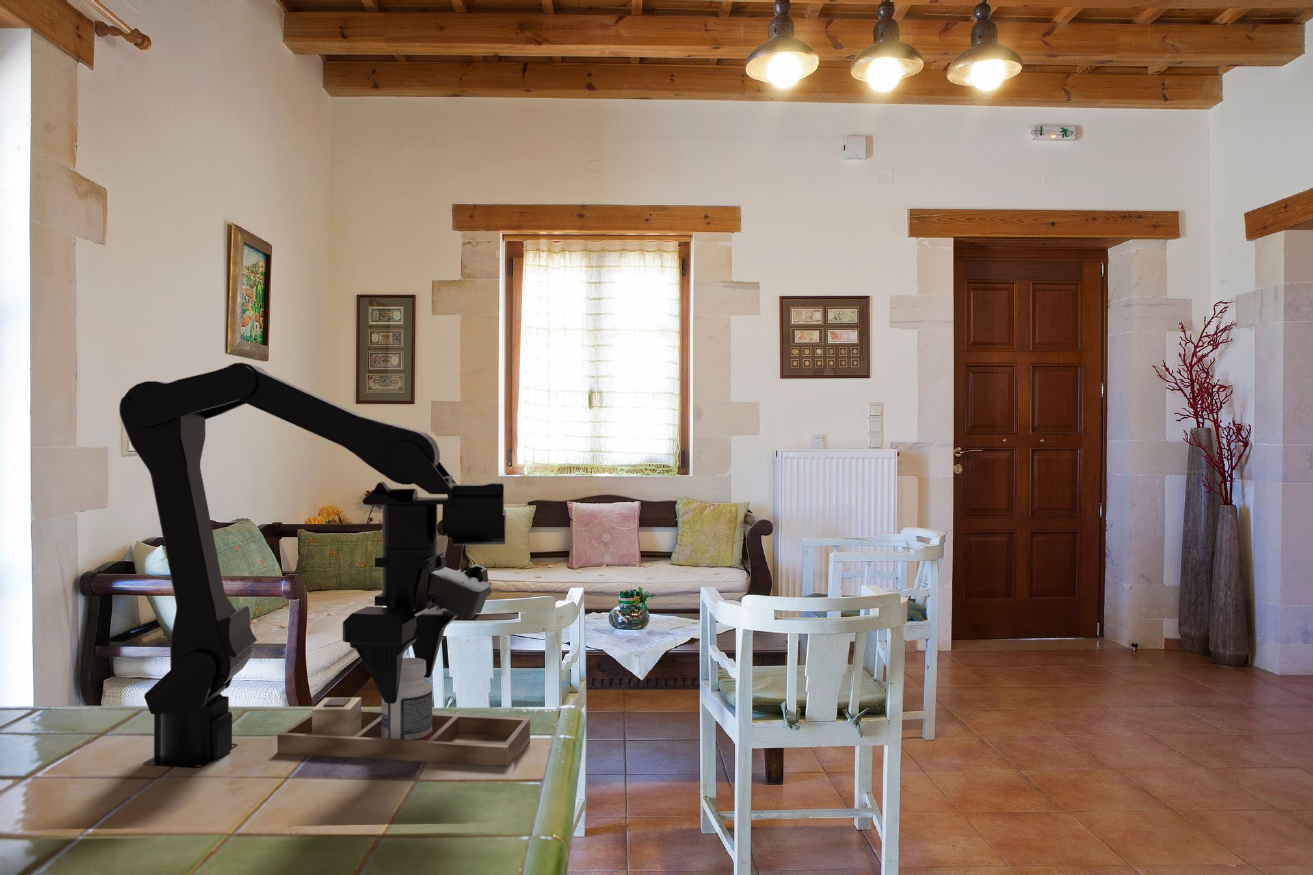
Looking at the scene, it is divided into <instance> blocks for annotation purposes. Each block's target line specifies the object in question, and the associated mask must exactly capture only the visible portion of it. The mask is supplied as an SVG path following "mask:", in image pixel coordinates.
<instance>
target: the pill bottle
mask: <svg viewBox="0 0 1313 875" xmlns="http://www.w3.org/2000/svg"><path fill="white" fill-rule="evenodd" d="M425 674H426V661H425V660H424V659H421V658H415V657H403V660H402V668H401V675H400V683H399V690H398V696H397V701H396V702H395V703H394V704H389V703H385V702H384V700H383V698H382V697H381V711H382V738H387V739H404V740H422V741H428V740H429V739H430V738H431V737H432V713H433V685H432V682H431V681H430V680H429V679H428V678H424V675H425Z"/></svg>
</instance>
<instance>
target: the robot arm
mask: <svg viewBox="0 0 1313 875" xmlns="http://www.w3.org/2000/svg"><path fill="white" fill-rule="evenodd" d="M244 405H249V406H251V407H253V408H256V409H258V410H260V411H262V412H265V413H268V414H269V415H271V416H274V417H276V418H278V419H280V420H283V421H285V422H287V423H290V424H292V425H294V426H296V427H299V428H300V429H304V430H306V431H308V432H310V433H312V434H314V435H316V436H319V437H321V438H323V439H325V440H328V441H330V442H333V443H335V444H337V445H339V446H341V447H343V448H345V449H347V450H348V451H350V452H351V453H353V455H355V456H357V457H358V458H359V459H360V460H361V461H363V462H364V463H365V464H367V465H368V466H369V467H371V468H372V469H373V470H376V471H377V472H378V473H380V474H381V475H383V477H385V478H387V479H389V480H391V481H392V482H394V483H395V484H399V485H403V486H404V485H405V486H406V485H409V486H410V485H416V486H417V487H418V488H420V489H421V490H423V491H425V492H427V493H428V494H430V495H447V497H422V496H420V497H419V492H418V490H417V488H390V487H389V486H388V485H387V484H386V483H385V481H381V482H380V481H379V482H377V484H375V487H374V488H373V490H372V491H371V492H370V493H369V494H368V495H367V496H365V497H364V498H363V499H362V504H363V505H365V506H382V531H381V532H382V543H381V544H382V545H381V546H382V549H381V550H382V552H381V553H382V555H379V556H376V557H374V568H381V570H382V571H381V572H382V573H381V579H382V580H381V586H382V588H381V589H382V590H381V593H380V594H379V593H378V594H377V595H375V596H374V606H365V607H363V608H360V609H358V610H357V611H354V612H351V613H350V614H349V615H348V616H347V617H346V618H345V619H344V620H343V622H342V642H344V643H346V644H347V643H349V647H350V648H351V649H355V651H356V652H357V654H358V656H359V657H360V659H361V660H362V662H363V664H364V665H365V667H366V670H368V672H369V675H370V676H371V678H372V680H373V682H374V684H375V686H376V688H377V690H378V691H379V694H380V695H381V699H382V698H383V700H384V702H385V703H389V704H394V703H395V702H396V701H397V696H398V690H399V683H400V675H401V668H402V660H403V658H404V654H405V652H406V651H407V650H408V649H409V648H410V647H411V648H412V651H413V654H414V658H421V659H424V660H425V661H426V674H425V675H424V678H426V679H428V678H431V677H432V676H433V671H434V668H435V664H436V661H437V657H438V653H439V651H440V646H441V643H442V640H443V635H444V633H445V631H446V630H445V629H446V628H447V626H449V625H450V624H451V623H452V622H453V621H454V620H455V619H456V618H457V617H459V618H462V619H466V620H471V619H473V618H474V617H475V616H476V615H477V614H481V613H482V611H483V609H484V605H485V602H486V600H487V597H488V596H490V595H491V594H492V589H491V585H492V582H491V581H489V573H488V568H486V567H484V566H482V565H480V564H476V563H475V564H474V565H471V566H470V567H468V569H467V570H465V571H464V572H463V570H461V569H457V570H455V569H452V568H449V567H447V556H446V555H445V554H444V552H440V551H439V552H438V505H439V506H441V505H442V509H441V510H442V512H441V513H442V516H441V520H442V521H441V528H442V535H443V537H447V539H452V545H453V546H489V545H491V546H492V545H493V546H494V545H498V546H499V545H506V538H507V537H506V535H507V534H506V533H507V532H506V531H507V530H506V528H507V510H506V509H505V484H504V483H503V482H489V483H485V484H457V483H456V481H455V480H454V478H453V475H450V473H449V472H448V471H447V469H446V467H444V465H443V464H442V463H441V461H440V460H441V457H440V456H441V454H440V453H441V452H440V448H439V446H438V443H437V442H436V440H435V439H434V438H433V437H432V436H431V435H429V434H428V433H426V432H424V431H421V430H417V429H414V428H410V427H406V426H404V425H403V426H402V425H398V424H394V423H390V422H386V421H382V420H378V419H375V418H369V417H367V416H363V415H361V414H359V413H357V412H354V411H352V410H351V409H347V408H346V407H343V406H341V405H339V404H336V403H335V402H332V401H330V400H329V399H325V398H324V397H321V396H319V395H317V394H314V393H312V392H310V391H308V390H305V389H304V388H302V387H300V386H299V387H298V386H297V385H295V384H293V383H290V382H288V381H285V380H284V379H281V378H279V377H277V376H275V375H272V374H270V373H268V372H267V371H266V370H265V369H263V368H262V367H260V366H257V365H253V364H249V363H245V362H234V363H232V364H229V365H227V366H225V367H223V368H222V367H221V368H219V369H216V370H212V371H209V372H205V373H201V374H197V375H191V376H187V377H183V378H180V379H176V380H174V381H170V382H163V381H159V380H157V381H155V380H153V381H152V380H151V381H150V380H148V381H147V380H146V381H143V382H140V383H136V384H135V385H134V386H132V387H131V388H129V389H128V391H127V392H126V393H125V394H124V396H123V397H121V399H120V402H119V410H118V411H119V416H120V420H121V422H122V424H123V428H124V430H125V432H126V435H127V437H128V439H129V442H130V445H131V446H132V448H133V449H134V452H136V454H137V455H138V457H139V458H140V460H141V461H142V463H143V464H144V465H145V467H146V468H147V470H148V472H149V474H150V477H151V483H152V487H153V493H154V498H155V503H156V508H157V513H158V519H159V524H160V529H161V535H162V539H163V546H164V548H165V554H166V559H167V564H168V569H169V576H170V579H171V586H172V590H173V594H174V595H173V596H174V599H175V608H176V609H175V614H174V620H173V625H172V629H171V630H172V631H171V634H170V640H169V642H170V643H169V645H170V646H169V648H170V649H169V650H170V652H169V654H170V655H169V656H170V657H169V658H170V660H169V661H170V663H169V664H170V666H169V667H170V670H169V671H168V672H167V673H165V675H164V676H162V677H161V678H160V679H159V680H158V681H157V682H156V683H155V684H154V685H153V686H151V688H150V689H148V691H147V692H145V693H144V697H143V699H145V702H146V705H147V708H148V711H149V713H150V714H151V715H153V720H154V721H153V757H152V758H150V759H147V760H146V761H143V763H142V765H143V766H154V767H170V768H184V769H186V768H187V769H200V768H203V767H205V766H206V765H208V764H210V763H211V762H213V761H217V760H219V759H220V758H222V757H223V756H225V755H227V754H229V753H230V752H231V751H232V750H233V749H235V748H237V747H238V746H239V745H238V744H237V743H233V713H232V712H231V711H229V710H230V709H229V708H230V705H229V703H230V702H229V698H230V697H229V696H226V695H225V696H223V695H222V694H221V693H222V692H223V691H225V690H226V689H228V688H229V687H230V686H231V683H232V680H233V678H234V677H235V676H236V675H237V674H238V673H239V672H240V671H242V670H243V669H244V667H245V666H246V665H247V663H248V662H249V660H250V659H251V655H252V645H254V644H255V643H256V642H257V641H258V640H257V638H256V636H255V635H254V633H253V631H252V628H251V613H250V607H249V606H248V605H246V606H243V607H240V608H237V609H236V608H235V606H234V605H233V604H232V603H231V601H230V599H229V598H228V596H227V595H226V592H225V587H224V583H223V579H222V573H221V569H220V567H221V566H220V562H219V557H218V553H217V548H216V542H215V537H214V531H213V527H212V526H213V525H212V522H211V517H210V516H211V515H210V511H209V506H208V501H207V496H206V490H205V484H204V481H203V475H202V469H201V460H202V456H203V450H204V447H205V440H206V420H209V419H211V418H214V417H218V416H220V415H223V414H225V413H228V412H230V411H232V410H234V409H237V408H238V407H239V408H240V407H242V406H244Z"/></svg>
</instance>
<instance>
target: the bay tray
mask: <svg viewBox="0 0 1313 875" xmlns="http://www.w3.org/2000/svg"><path fill="white" fill-rule="evenodd" d="M276 735H277V738H276V742H277V743H276V744H277V745H276V746H277V747H276V750H277V752H276V753H277V754H290V755H306V756H321V757H322V756H323V757H337V758H338V757H340V758H355V759H371V760H372V759H373V760H388V761H389V760H390V761H391V760H392V761H406V762H421V763H437V764H452V765H453V764H455V765H468V766H469V765H473V766H485V767H486V766H490V767H501V768H502V767H508V766H509V765H510V763H511V762H512V760H513V762H512V764H514V763H515V762H516V760H517V759H518V758H519V757H520V755H521V754H522V753H523V752H524V750H525V748H526V747H527V746H528V745H529V743H530V742H529V741H531V718H528V717H527V718H525V717H506V716H487V715H469V714H468V715H467V714H466V715H465V714H450V713H449V714H448V713H433V712H432V737H431V738H430V739H429V740H428V741H422V740H404V739H387V738H382V710H376V709H375V710H374V709H371V710H370V709H361V731H360V732H359V733H357V734H356V735H355V736H353V737H352V736H334V735H316V734H312V712H311V713H310V714H308V715H306V716H304V717H302V719H300V720H299V721H297V722H295V723H293V724H292V725H290V726H288V727H287V728H286V729H285V728H284V730H282V731H280V732H279V733H277V734H276ZM528 742H529V743H528ZM526 745H527V746H526ZM521 752H522V753H521Z"/></svg>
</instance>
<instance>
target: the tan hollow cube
mask: <svg viewBox="0 0 1313 875" xmlns="http://www.w3.org/2000/svg"><path fill="white" fill-rule="evenodd" d="M361 710H362V697H361V696H359V697H358V696H357V697H356V696H355V697H324V698H323V699H322V700H321V701H320V702H319V703H317V704H316V705H315V706H314V707H313V708H312V709H311V713H312V734H316V735H334V736H352V737H353V736H355V735H356V734H357V733H359V732H360V731H361Z"/></svg>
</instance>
